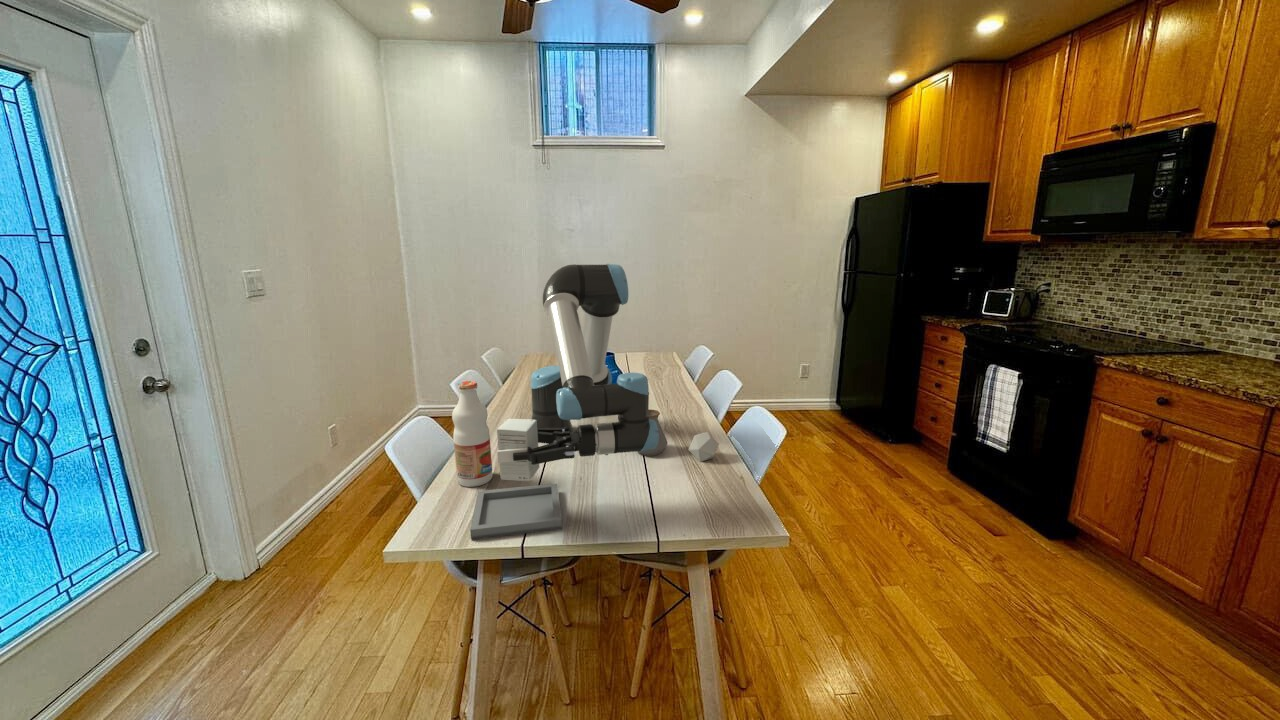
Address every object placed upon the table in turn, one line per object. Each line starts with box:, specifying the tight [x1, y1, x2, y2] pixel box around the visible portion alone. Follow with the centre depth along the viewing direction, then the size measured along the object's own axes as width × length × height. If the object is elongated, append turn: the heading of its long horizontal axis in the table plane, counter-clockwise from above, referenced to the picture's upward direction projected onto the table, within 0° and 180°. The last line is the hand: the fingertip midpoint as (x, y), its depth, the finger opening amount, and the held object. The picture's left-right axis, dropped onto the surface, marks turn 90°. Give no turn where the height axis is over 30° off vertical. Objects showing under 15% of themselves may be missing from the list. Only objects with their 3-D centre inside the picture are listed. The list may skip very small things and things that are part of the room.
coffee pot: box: [637, 408, 668, 457], centre depth 152 cm, size 21×12×15 cm, turn 154°
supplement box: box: [496, 418, 540, 482], centre depth 117 cm, size 7×7×13 cm
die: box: [688, 431, 720, 463], centre depth 152 cm, size 8×9×10 cm
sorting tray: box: [469, 483, 563, 541], centre depth 121 cm, size 18×20×2 cm
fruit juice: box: [451, 380, 493, 488], centre depth 135 cm, size 9×9×28 cm
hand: (498, 448), depth 116 cm, fingers closed on supplement box, 9 cm apart
